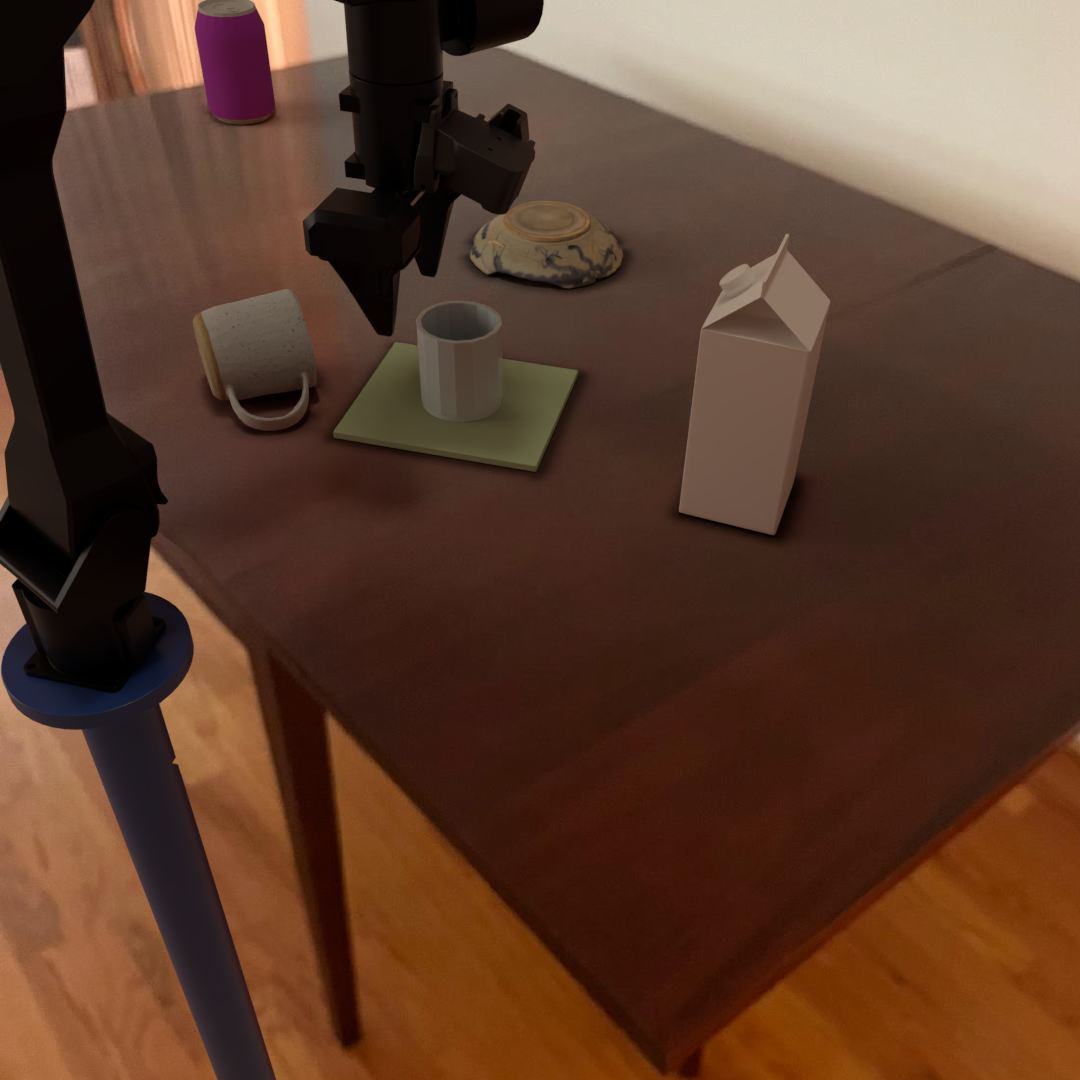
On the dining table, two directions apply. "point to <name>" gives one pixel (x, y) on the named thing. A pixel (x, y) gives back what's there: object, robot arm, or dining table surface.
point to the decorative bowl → (547, 245)
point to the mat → (499, 439)
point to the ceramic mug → (257, 353)
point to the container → (460, 360)
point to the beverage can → (234, 61)
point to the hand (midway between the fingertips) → (408, 303)
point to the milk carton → (753, 393)
